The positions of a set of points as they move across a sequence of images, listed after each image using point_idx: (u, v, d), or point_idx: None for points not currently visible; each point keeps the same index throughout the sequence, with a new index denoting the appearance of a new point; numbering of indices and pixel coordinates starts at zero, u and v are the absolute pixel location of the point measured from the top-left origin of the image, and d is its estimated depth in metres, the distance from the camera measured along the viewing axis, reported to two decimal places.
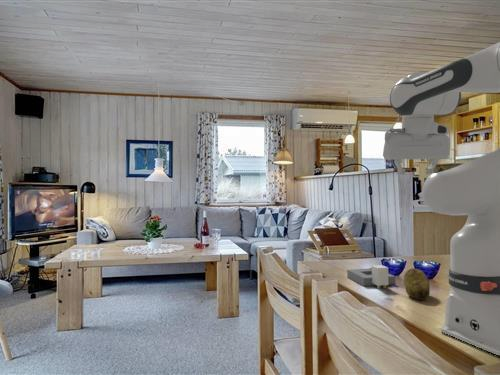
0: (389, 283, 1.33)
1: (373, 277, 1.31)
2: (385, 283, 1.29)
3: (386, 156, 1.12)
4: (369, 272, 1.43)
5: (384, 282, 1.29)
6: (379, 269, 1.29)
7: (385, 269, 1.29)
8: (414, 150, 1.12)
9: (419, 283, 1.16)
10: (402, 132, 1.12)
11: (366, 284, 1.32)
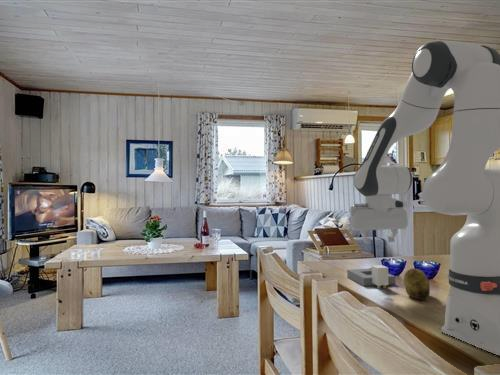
0: (389, 283, 1.33)
1: (373, 277, 1.31)
2: (385, 283, 1.29)
3: (352, 227, 1.29)
4: (369, 272, 1.43)
5: (384, 282, 1.29)
6: (379, 269, 1.29)
7: (385, 269, 1.29)
8: (376, 222, 1.29)
9: (419, 283, 1.16)
10: (365, 206, 1.30)
11: (366, 284, 1.32)
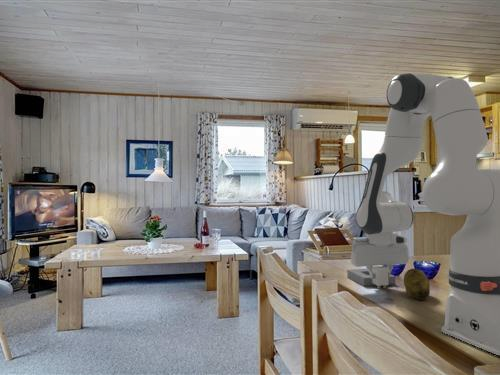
0: (389, 283, 1.33)
1: None
2: (385, 283, 1.29)
3: (353, 263, 1.29)
4: None
5: (384, 282, 1.29)
6: (379, 269, 1.29)
7: (385, 269, 1.29)
8: (377, 258, 1.29)
9: (419, 283, 1.16)
10: (366, 242, 1.29)
11: (366, 284, 1.32)
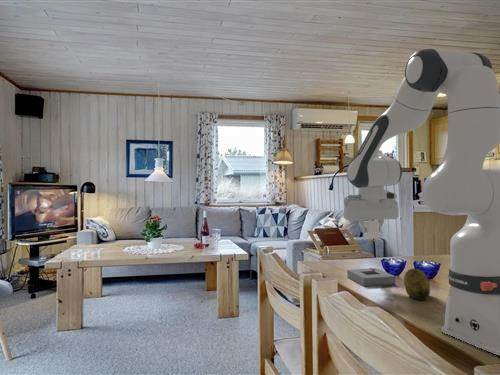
0: (389, 283, 1.33)
1: None
2: (376, 236, 1.36)
3: (345, 218, 1.35)
4: (369, 272, 1.43)
5: (375, 236, 1.36)
6: (370, 223, 1.35)
7: (376, 223, 1.36)
8: (368, 212, 1.35)
9: (419, 283, 1.16)
10: (358, 198, 1.36)
11: (366, 284, 1.32)
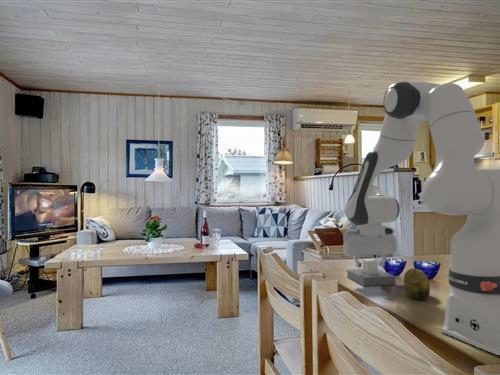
0: (389, 283, 1.33)
1: (364, 270, 1.40)
2: None
3: (345, 253, 1.38)
4: None
5: None
6: (369, 262, 1.38)
7: (375, 262, 1.38)
8: (367, 248, 1.38)
9: (419, 283, 1.16)
10: (357, 233, 1.39)
11: (366, 284, 1.32)
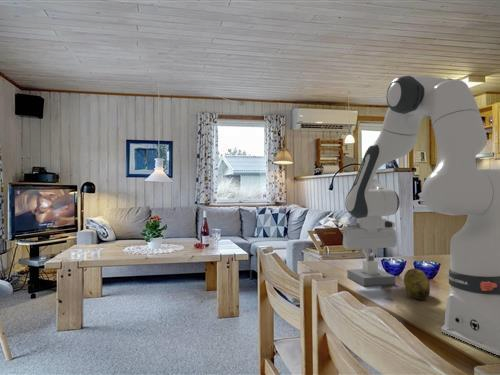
0: (389, 283, 1.33)
1: (364, 270, 1.40)
2: None
3: (345, 246, 1.38)
4: None
5: None
6: (369, 262, 1.38)
7: (375, 262, 1.38)
8: (367, 241, 1.38)
9: (419, 283, 1.16)
10: (357, 226, 1.39)
11: (366, 284, 1.32)
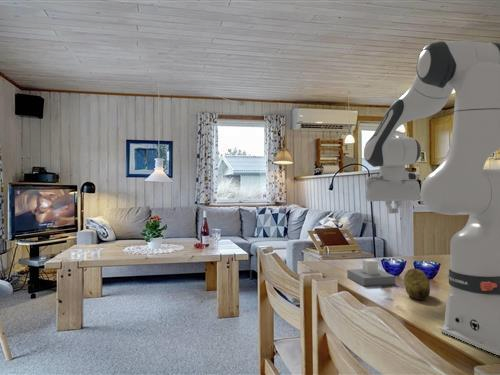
0: (389, 283, 1.33)
1: (364, 270, 1.40)
2: None
3: (368, 199, 1.36)
4: None
5: None
6: (369, 262, 1.38)
7: (375, 262, 1.38)
8: (391, 193, 1.36)
9: (420, 283, 1.16)
10: (380, 179, 1.37)
11: (366, 284, 1.32)
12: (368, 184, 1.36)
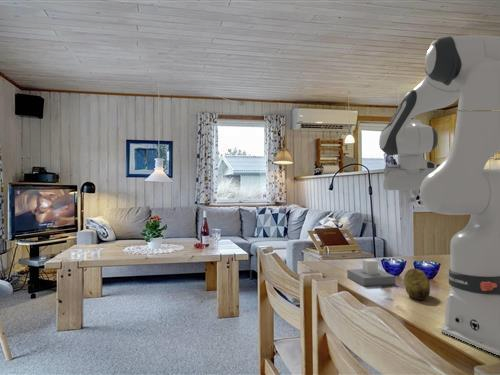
0: (389, 283, 1.33)
1: (364, 270, 1.40)
2: None
3: (386, 187, 1.35)
4: None
5: None
6: (369, 262, 1.38)
7: (375, 262, 1.38)
8: (409, 182, 1.35)
9: (419, 283, 1.16)
10: (398, 168, 1.36)
11: (366, 284, 1.32)
12: (386, 173, 1.35)
